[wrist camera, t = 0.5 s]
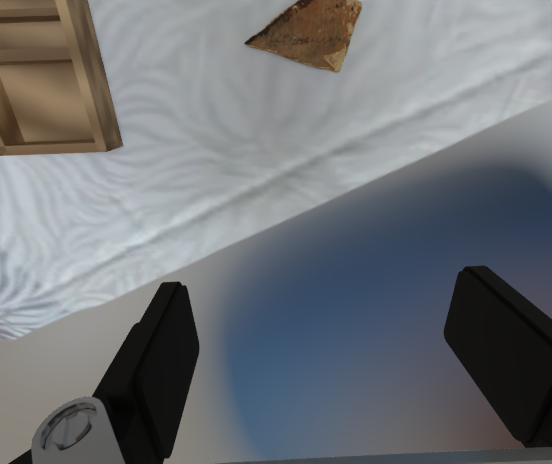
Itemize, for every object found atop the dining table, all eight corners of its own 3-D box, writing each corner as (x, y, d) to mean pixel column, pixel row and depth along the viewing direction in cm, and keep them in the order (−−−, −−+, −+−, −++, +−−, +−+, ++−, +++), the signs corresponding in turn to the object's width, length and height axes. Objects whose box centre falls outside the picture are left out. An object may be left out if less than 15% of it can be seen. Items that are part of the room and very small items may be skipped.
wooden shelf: (-57, -66, 28) (-105, -89, 25) (69, -71, 28) (40, -95, 25) (25, 149, 37) (-1, 155, 33) (123, 145, 37) (107, 151, 33)
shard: (245, 45, 33) (244, 43, 31) (262, -41, 30) (262, -48, 28) (336, 75, 34) (340, 75, 33) (362, -4, 31) (367, -9, 30)
